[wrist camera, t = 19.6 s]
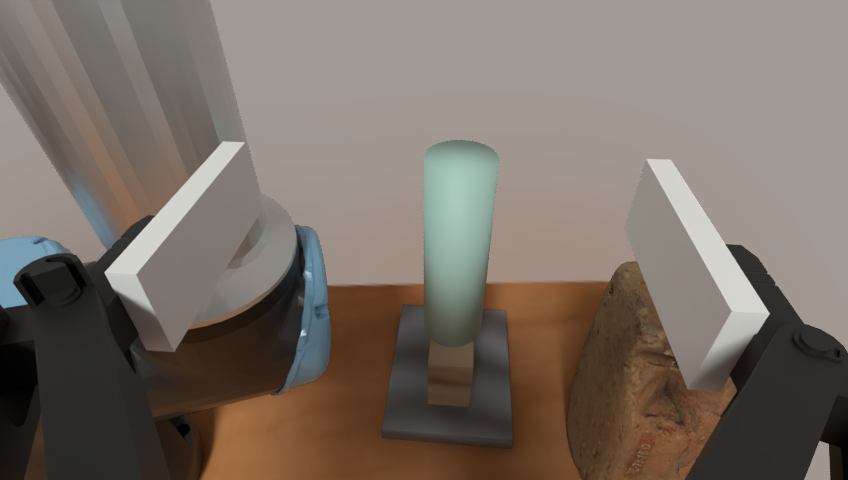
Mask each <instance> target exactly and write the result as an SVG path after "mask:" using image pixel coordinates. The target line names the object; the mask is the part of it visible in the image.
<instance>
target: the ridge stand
mask: <svg viewBox="0 0 848 480" xmlns="http://www.w3.org/2000/svg"><path fill="white" fill-rule="evenodd" d="M382 438H390V439H402V440H413V441H425V442H437V443H449V444H461V445H473V446H485V447H497V448H509V449H512V444H513V426H512V409H511V392H510V376H509V359H508V342H507V326H506V311H502V310H486V309H483V316H482V326H481V331H480V334H479V335H478V337H477V338H476V339H475V340H474V341H472V342H471V343H469V344H467V345H464V346H459V347H449V346H444V345H441V344H439V343H437V342H435V341H433V340H432V339H431V338H430V337H429V336H428V335H427V333H426V331H425V328H424V306H423V305H408V304H403V307H402V312H401V318H400V324H399V330H398V336H397V342H396V348H395V354H394V359H393V365H392V371H391V377H390V383H389V389H388V395H387V400H386V406H385V412H384V418H383V424H382Z"/></svg>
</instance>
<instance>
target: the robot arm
mask: <svg viewBox="0 0 848 480" xmlns="http://www.w3.org/2000/svg"><path fill="white" fill-rule="evenodd" d="M0 83H1V84H2V86H3V87H4V89H5V90H6V92H7V94H8V95H9V97H10V98H11V100H12V101H13V103H14V105H15V106H16V108H17V109H18V111H19V112H20V114H21V115H22V117H23V119H24V120H25V122H26V123H27V125H28V127H29V128H30V130H31V131H32V133H33V134H34V136H35V138H36V139H37V141H38V142H39V144H40V146H41V147H42V149H43V150H44V152H45V154H46V155H47V157H48V158H49V160H50V161H51V163H52V165H53V166H54V168H55V169H56V171H57V172H58V174H59V176H60V177H61V179H62V180H63V182H64V183H65V185H66V187H67V188H68V190H69V191H70V193H71V195H72V196H73V198H74V199H75V201H76V202H77V204H78V206H79V207H80V209H81V210H82V212H83V213H84V215H85V217H86V218H87V220H88V221H89V223H90V225H91V226H92V228H93V229H94V231H95V232H96V234H97V236H98V237H99V239H100V240H101V242H102V243H103V247H102V249H101V251H100V253H99V255H98V258H97V261H93V262H87V263H81V261H80V259H79V258H78V257H77V256H76V255H73V253H71V252H70V250H68V249H66V248H64V247H63V246H62V245H61V244H60V243H58V242H57V241H53V240H48V239H47V238H45V237H39V236H24V237H15V238H8V239H4V240H0V480H198V477H199V474H200V470H201V464H202V443H201V438H200V435H199V433H198V430H197V428H196V427H195V425H194V423H193V421H192V419H191V417H190V416H189V413H193V412H197V411H202V410H206V409H210V408H214V407H218V406H222V405H226V404H230V403H235V402H239V401H243V400H247V399H251V398H255V397H260V396H264V395H269V394H271V395H280V394H282V393H284V392H285V391H286V390H287V389H291V388H294V387H297V386H301V385H304V384H307V383H311V382H313V381H315V380H317V379H318V378H319V377H321V376H322V374H323V373H324V372H325V370H326V368H327V366H328V363H329V359H330V348H331V327H330V315H329V311H328V288H327V279H326V272H325V266H324V260H323V254H322V249H321V245H320V241H319V239H318V236H317V233H316V232H315V231H314V230H313V229H312V228H310V227H308V226H299V225H294V224H293V222H292V220H291V218H290V216H289V214H288V213H287V211H286V210H285V209H284V208H283V207H282V206H281V205H280V204H279V203H277V202H276V201H275V200H273V199H271V198H270V197H268V196H266V195H263V194H261V192H260V188H259V184H258V181H257V177H256V173H255V170H254V166H253V162H252V158H251V154H250V150H249V147H248V143H247V139H246V135H245V132H244V128H243V124H242V120H241V116H240V113H239V109H238V105H237V101H236V98H235V94H234V90H233V86H232V83H231V79H230V75H229V71H228V67H227V63H226V60H225V56H224V52H223V48H222V45H221V41H220V37H219V33H218V29H217V26H216V22H215V18H214V14H213V11H212V7H211V3H210V0H0ZM624 230H625V232H626V234H627V237H628V240H629V242H630V245H631V247H632V250H633V252H634V255H635V257H636V260H637V262H638V265H639V268H640V270H641V273H642V275H643V278H644V280H645V283H646V285H647V288H648V290H649V293H650V295H651V298H652V300H653V303H654V305H655V308H656V310H657V313H658V316H659V318H660V321H661V323H662V326H663V328H664V331H665V333H666V336H667V338H668V341H669V343H670V346H671V348H672V351H673V353H674V356H675V358H676V361H677V364H678V366H679V369H680V371H681V374H682V376H683V379H684V381H685V384H686V386H687V389H688V390H702V391H715V392H720V391H721V390H722V388H723V387H724V385H725V383H726V382H727V380H728V379H729V377H731V379H732V381H733V383H734V385H735V387H736V390H737V392H736V393H735V395H734V396H733V398H732V399H731V401H730V402H729V404H728V405H727V407H726V408H725V410H724V411H723V413H722V414H721V416H720V417H721V418H720V420H719V422H718V424H717V425H716V427H715V429H714V430H713V432H712V434H711V435H710V437H709V439H708V441H707V442H706V444H705V446H704V447H703V449H702V451H701V453H700V454H699V456H698V458H697V459H696V461H695V463H694V465H693V466H692V468H691V470H690V471H689V473H688V475H687V477H686V478H685V480H804V478H805V476H806V473H807V471H808V468H809V466H810V463H811V461H812V458H813V456H814V453H815V450H816V448H817V445H818V443H819V441H822V442H825V443H828V444H829V456H830V476H831V480H848V353H847V351H846V349H845V348H844V346H843V345H842V344H840V342H838V341H837V340H836V339H835V338H834V337H832V336H831V335H829V334H827V333H826V332H824V331H822V330H820V329H818V328H815V327H812V326H810V325H806V324H804V323H803V322H802V320H801V319H800V317H799V316H798V315H797V313H796V312H795V310H794V309H793V307H792V306H791V305H790V303H789V302H788V300H787V299H786V297H785V296H784V295H783V293H782V292H781V290H780V289H779V287H778V286H775V282H774V280H773V279H772V278H771V276H770V275H768V274H767V271H766V269H765V268H764V266H763V265H762V263H761V262H760V261H759V259H758V258H757V257H756V256H755V255H753V254H752V253H751V252H749V251H748V250H747V249H745V248H744V247H743V246H741V245H728V244H725V243H724V242H723V240H722V239H721V237H720V235H719V234H718V232H717V231H716V229H715V228H714V226H713V225H712V223H711V221H710V220H709V218H708V217H707V215H706V214H705V212H704V211H703V209H702V208H701V206H700V204H699V203H698V201H697V200H696V198H695V197H694V195H693V193H692V192H691V190H690V189H689V187H688V186H687V184H686V183H685V181H684V179H683V178H682V176H681V175H680V173H679V172H678V170H677V169H676V167H675V165H674V164H673V162H672V161H671V160H660V159H646V161H645V164H644V167H643V170H642V173H641V176H640V180H639V183H638V186H637V189H636V192H635V196H634V199H633V202H632V205H631V208H630V211H629V214H628V217H627V221H626V224H625V227H624Z"/></svg>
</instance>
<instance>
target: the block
mask: <svg viewBox="0 0 848 480" xmlns="http://www.w3.org/2000/svg"><path fill="white" fill-rule="evenodd" d="M736 392H737V390H736V387H735V385H734V383H733V381H732V379H731V377H729V379H728V380H727V382H726V383H725V385H724V387H723V388H722V390H721V391H720V392H715V391H702V390H688V389H687V386H686V384H685V381H684V379H683V376H682V374H681V371H680V369H679V366H678V364H677V361H676V358H675V356H674V353H673V351H672V348H671V346H670V343H669V341H668V338H667V336H666V333H665V331H664V328H663V326H662V323H661V321H660V318H659V316H658V313H657V310H656V308H655V305H654V303H653V300H652V298H651V295H650V293H649V290H648V288H647V285H646V283H645V280H644V278H643V275H642V273H641V270H640V268H639V265H638V262H626V263H624V264H621V265H620V266H619V267H618V268H617V270H616V271H615V273H614V275H613V276H612V278H611V280H610V282H609V284H608V286H607V288H606V291H605V293H604V296H603V298H602V301H601V303H600V306H599V308H598V311H597V313H596V315H595V318H594V321H593V324H592V326H591V328H590V331H589V334H588V337H587V340H586V343H585V345H584V348H583V352H582V356H581V359H580V362H579V365H578V368H577V372H576V375H575V378H574V382H573V385H572V389H571V393H570V402H569V411H568V416H567V432H568V439H569V444H570V449H571V454H572V457H573V460H574V462H575V465H576V467H577V468H578V469H579V472H580V475H581V477H582V480H679V469H680V468H681V467H685V466H687V465H689V464H690V463H691V462H692V461H694V460H695V459H696V458H697V456H698V455H699V454H700V453H701V451H702V449H703V447H704V446H705V444H706V442H707V441H708V439H709V437H710V435H711V434H712V432H713V430H714V429H715V427H716V425H717V424H718V422H719V420H720V418H721V417H720V416H721V414H722V413H723V411H724V410H725V408H726V407H727V405H728V404H729V402H730V401H731V399H732V398H733V396H734V395H735V393H736Z"/></svg>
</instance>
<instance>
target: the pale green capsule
mask: <svg viewBox="0 0 848 480" xmlns="http://www.w3.org/2000/svg"><path fill="white" fill-rule="evenodd" d="M498 164H499V157H498V154H497V153H496V152H495V151H494V150H493V149H492V148H490V147H488V146H486V145H484V144H481V143H477V142H473V141H465V140H454V141H446V142H442V143H438V144H436V145H433V146H432V147H430V148H429V149H428V150H427V151H426V152H425V154H424V328H425V331H426V333H427V335H428V336H429V337H430V338H431V339H432V340H433V341H435V342H437V343H439V344H441V345H444V346H449V347H459V346H464V345H467V344H469V343H471V342H472V341H474V340H475V339H476V338H477V337H478V335H479V334H480V331H481V326H482V316H483V307H484V297H485V288H486V278H487V268H488V259H489V249H490V240H491V230H492V221H493V211H494V202H495V193H496V183H497V174H498Z"/></svg>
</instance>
